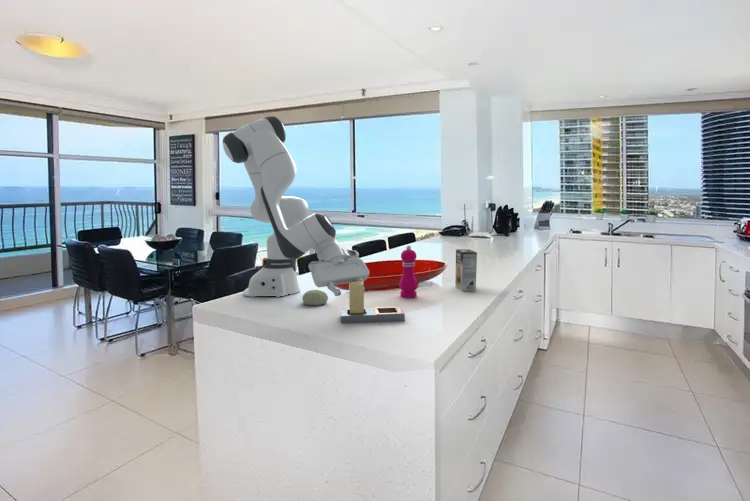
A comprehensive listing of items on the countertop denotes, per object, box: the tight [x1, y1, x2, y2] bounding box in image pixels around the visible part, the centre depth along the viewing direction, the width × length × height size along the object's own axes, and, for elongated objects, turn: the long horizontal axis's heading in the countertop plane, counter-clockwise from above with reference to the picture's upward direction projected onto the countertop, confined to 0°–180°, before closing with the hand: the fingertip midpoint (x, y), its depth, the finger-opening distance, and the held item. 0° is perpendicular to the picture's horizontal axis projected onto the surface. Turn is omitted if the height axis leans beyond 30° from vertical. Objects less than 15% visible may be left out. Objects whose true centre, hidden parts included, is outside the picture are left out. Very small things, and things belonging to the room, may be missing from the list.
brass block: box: [348, 281, 365, 315], centre depth 139 cm, size 4×4×12 cm
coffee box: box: [455, 248, 478, 292], centre depth 181 cm, size 9×6×16 cm
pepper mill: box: [398, 245, 419, 299], centre depth 169 cm, size 7×7×20 cm
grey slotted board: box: [340, 306, 406, 324], centre depth 141 cm, size 20×8×3 cm, turn 96°
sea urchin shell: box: [302, 289, 329, 306], centre depth 160 cm, size 9×8×8 cm
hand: (350, 292), depth 140 cm, fingers open, 8 cm apart
